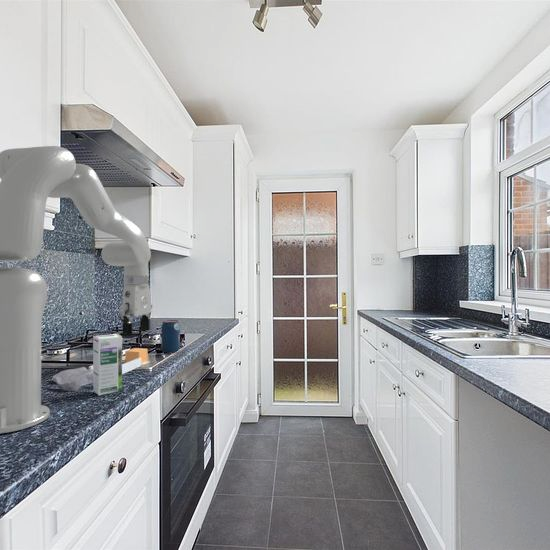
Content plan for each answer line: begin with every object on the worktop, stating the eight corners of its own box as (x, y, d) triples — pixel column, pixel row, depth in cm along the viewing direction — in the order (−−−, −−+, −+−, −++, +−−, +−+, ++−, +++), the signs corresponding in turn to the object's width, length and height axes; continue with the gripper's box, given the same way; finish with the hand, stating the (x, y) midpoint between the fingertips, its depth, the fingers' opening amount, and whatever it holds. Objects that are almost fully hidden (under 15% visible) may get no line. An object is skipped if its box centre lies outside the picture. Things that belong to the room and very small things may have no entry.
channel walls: (114, 380, 101) (114, 368, 101) (88, 378, 103) (88, 366, 103) (141, 368, 114) (141, 357, 114) (117, 367, 116) (117, 356, 116)
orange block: (138, 364, 116) (138, 351, 116) (125, 363, 117) (125, 351, 117) (147, 360, 120) (147, 348, 120) (134, 359, 122) (134, 348, 122)
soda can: (183, 351, 139) (183, 321, 139) (167, 354, 134) (167, 322, 134) (173, 348, 144) (173, 319, 144) (157, 351, 139) (158, 321, 139)
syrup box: (98, 396, 88) (98, 338, 88) (92, 390, 93) (92, 334, 93) (122, 391, 92) (122, 335, 92) (115, 385, 97) (116, 332, 96)
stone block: (73, 400, 91) (108, 382, 100) (69, 383, 90) (104, 366, 99) (48, 394, 97) (82, 377, 105) (44, 377, 96) (79, 362, 105)
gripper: (130, 282, 109) (130, 338, 109) (160, 280, 126) (160, 328, 126) (109, 282, 110) (109, 337, 111) (141, 280, 127) (141, 327, 128)
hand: (136, 332), depth 118 cm, fingers open, 9 cm apart
